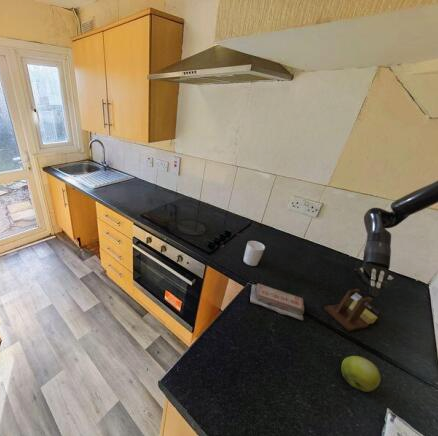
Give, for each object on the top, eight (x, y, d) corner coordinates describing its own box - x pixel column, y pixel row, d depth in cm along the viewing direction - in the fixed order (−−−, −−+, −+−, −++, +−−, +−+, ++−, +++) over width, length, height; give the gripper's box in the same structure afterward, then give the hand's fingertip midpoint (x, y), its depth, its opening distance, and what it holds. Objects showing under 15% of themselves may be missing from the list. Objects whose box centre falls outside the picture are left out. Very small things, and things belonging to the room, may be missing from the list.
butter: (351, 305, 90) (355, 300, 89) (373, 322, 83) (377, 317, 82) (344, 307, 89) (348, 301, 88) (366, 324, 82) (370, 318, 81)
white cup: (240, 256, 116) (245, 239, 111) (256, 258, 115) (262, 241, 111) (244, 265, 109) (249, 248, 104) (261, 268, 108) (267, 250, 104)
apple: (373, 381, 65) (388, 364, 61) (368, 405, 59) (384, 388, 55) (340, 359, 70) (352, 343, 66) (332, 380, 64) (345, 363, 61)
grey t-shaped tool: (360, 304, 89) (365, 300, 88) (377, 316, 84) (382, 312, 83) (345, 293, 82) (350, 288, 82) (362, 306, 77) (368, 301, 77)
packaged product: (303, 294, 87) (307, 312, 79) (299, 303, 90) (302, 321, 82) (254, 277, 94) (253, 293, 86) (251, 286, 96) (249, 302, 88)
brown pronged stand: (341, 305, 90) (355, 282, 85) (367, 327, 81) (385, 303, 76) (323, 308, 88) (336, 285, 82) (348, 331, 79) (365, 307, 74)
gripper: (361, 247, 90) (356, 290, 85) (405, 258, 85) (402, 303, 80) (351, 251, 97) (346, 291, 92) (391, 261, 92) (387, 304, 87)
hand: (372, 297), depth 86 cm, fingers closed
